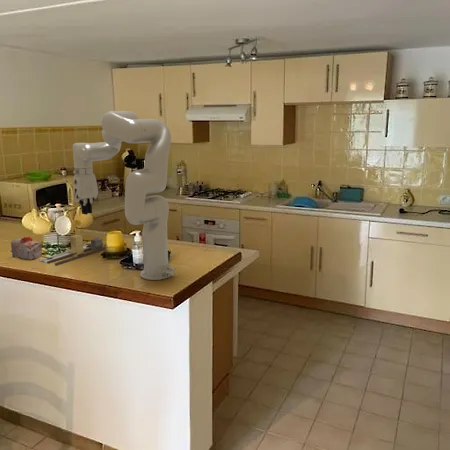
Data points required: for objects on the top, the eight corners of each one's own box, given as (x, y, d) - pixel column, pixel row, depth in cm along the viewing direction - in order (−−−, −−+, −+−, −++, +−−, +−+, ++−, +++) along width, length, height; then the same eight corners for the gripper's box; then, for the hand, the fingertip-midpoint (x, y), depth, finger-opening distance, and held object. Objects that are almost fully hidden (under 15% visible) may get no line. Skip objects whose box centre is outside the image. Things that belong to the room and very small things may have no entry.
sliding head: (83, 255, 202) (82, 235, 200) (77, 257, 199) (75, 237, 197) (70, 252, 207) (68, 232, 205) (64, 254, 204) (62, 234, 202)
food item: (46, 258, 203) (43, 237, 200) (31, 264, 196) (28, 241, 193) (24, 254, 209) (22, 233, 206) (9, 259, 202) (6, 237, 199)
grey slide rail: (108, 251, 213) (107, 238, 211) (53, 269, 188) (52, 255, 187) (90, 247, 219) (89, 234, 217) (35, 264, 194) (33, 250, 193)
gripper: (74, 174, 190) (78, 218, 194) (103, 170, 203) (106, 211, 207) (62, 173, 194) (66, 215, 198) (92, 169, 207) (95, 209, 211)
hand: (87, 213), depth 203 cm, fingers closed
